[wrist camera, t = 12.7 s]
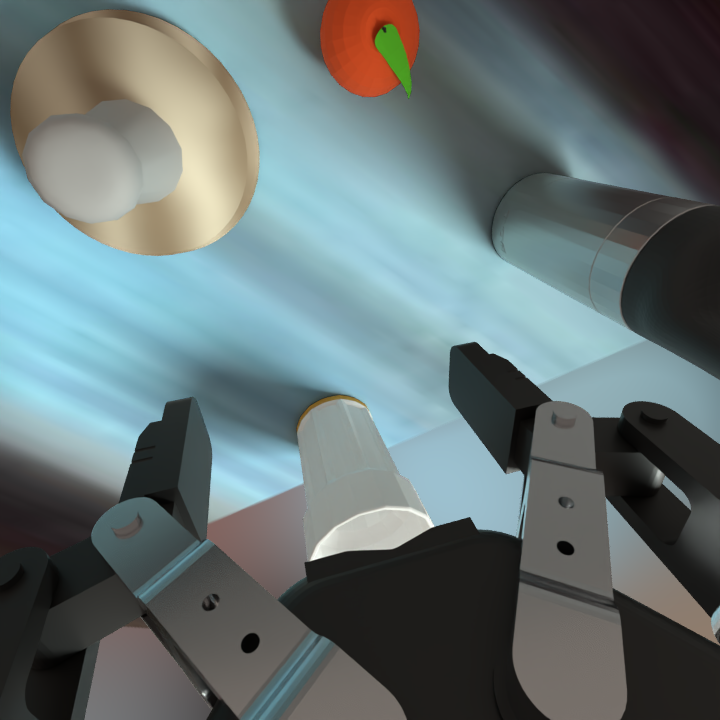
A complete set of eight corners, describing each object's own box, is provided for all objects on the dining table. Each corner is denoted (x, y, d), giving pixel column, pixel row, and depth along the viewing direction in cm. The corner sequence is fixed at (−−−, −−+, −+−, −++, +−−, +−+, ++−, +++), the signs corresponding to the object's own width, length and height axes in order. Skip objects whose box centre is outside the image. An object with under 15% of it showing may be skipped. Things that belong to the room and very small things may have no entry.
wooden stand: (233, 7, 29) (233, -11, 25) (275, 236, 38) (279, 252, 34) (-24, 18, 27) (-73, 0, 22) (82, 263, 35) (61, 284, 31)
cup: (272, 407, 47) (289, 540, 32) (368, 373, 48) (426, 487, 33) (304, 474, 53) (329, 611, 38) (388, 443, 54) (444, 565, 39)
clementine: (423, 69, 34) (463, 60, 28) (358, 130, 35) (383, 133, 29) (366, -40, 30) (398, -78, 24) (293, 32, 31) (306, 13, 25)
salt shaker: (202, 180, 30) (182, 218, 19) (125, 210, 29) (60, 267, 19) (155, 85, 26) (99, 67, 16) (68, 118, 26) (-50, 122, 15)
